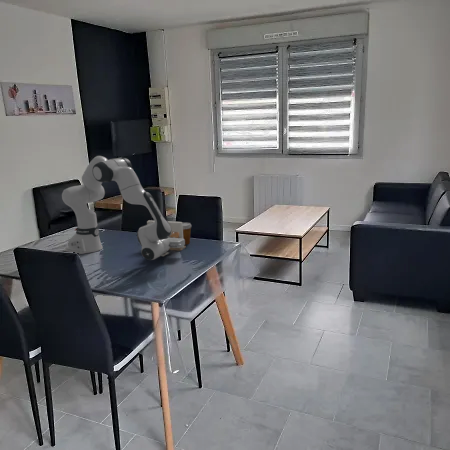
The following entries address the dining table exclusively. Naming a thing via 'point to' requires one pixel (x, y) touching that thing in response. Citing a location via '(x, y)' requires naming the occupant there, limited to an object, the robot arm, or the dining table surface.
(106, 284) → the dining table surface
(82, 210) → the robot arm
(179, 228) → the panel
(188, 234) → the disposable coffee cup
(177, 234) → the button right
